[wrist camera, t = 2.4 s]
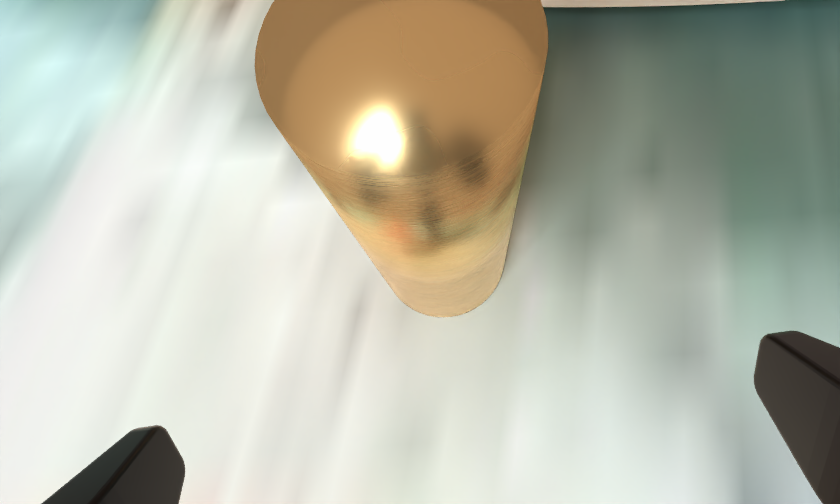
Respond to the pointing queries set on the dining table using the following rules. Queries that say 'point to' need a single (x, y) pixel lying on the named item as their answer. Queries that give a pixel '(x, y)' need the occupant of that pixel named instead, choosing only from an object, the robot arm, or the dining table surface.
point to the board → (636, 2)
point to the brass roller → (412, 128)
